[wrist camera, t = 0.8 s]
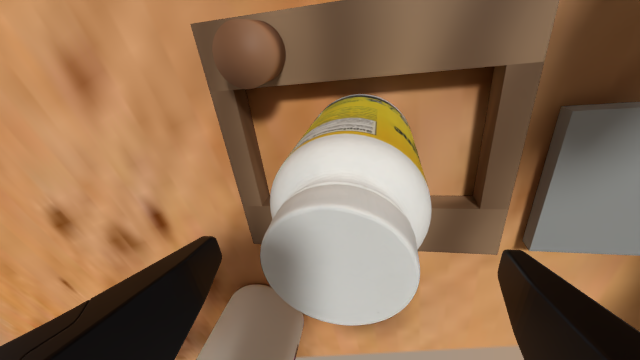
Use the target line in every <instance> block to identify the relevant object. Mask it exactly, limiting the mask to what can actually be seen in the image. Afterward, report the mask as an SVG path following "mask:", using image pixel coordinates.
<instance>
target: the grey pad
mask: <svg viewBox="0 0 640 360" xmlns="http://www.w3.org/2000/svg"><path fill="white" fill-rule="evenodd" d="M522 241H523V242H524V244H525V245H526V247H527V248H528V250H529V251H545V252H568V253H592V254H616V255H639V256H640V102H626V103H609V104H592V105H575V106H561V109H560V113H559V116H558V120H557V123H556V126H555V130H554V133H553V137H552V140H551V144H550V147H549V151H548V154H547V158H546V161H545V164H544V168H543V171H542V175H541V178H540V182H539V185H538V189H537V192H536V196H535V199H534V202H533V206H532V209H531V213H530V216H529V220H528V223H527V227H526V230H525V233H524V237H523V240H522Z"/></svg>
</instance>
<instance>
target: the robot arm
mask: <svg viewBox="0 0 640 360" xmlns="http://www.w3.org/2000/svg"><path fill="white" fill-rule="evenodd" d="M221 260H222V254H221V251H220V248H219V245H218V243H217V240H216V238H215V237H212V236H203V237H201V238H199V239H197V240H195V241H193V242H192V243H190V244H188V245H186V246H184V247H183V248H181V249H179V250H177V251H175V252H174V253H172V254H170V255H168V256H167V257H165V258H163V259H161V260H159V261H158V262H156V263H154V264H152V265H150V266H149V267H147V268H145V269H143V270H141V271H140V272H138V273H136V274H134V275H132V276H131V277H129V278H127V279H125V280H123V281H122V282H120V283H118V284H116V285H114V286H113V287H111V288H109V289H107V290H106V291H104V292H102V293H100V294H98V295H97V296H95V297H93V298H91V299H90V300H87V301H86V302H84V303H82V304H80V305H79V306H77V307H75V308H73V309H71V310H69V311H68V312H66V313H64V314H62V315H60V316H58V317H57V318H55V319H53V320H51V321H49V322H47V323H45V324H43V325H41V326H39V327H37V328H35V329H33V330H32V331H30V332H28V333H26V334H24V335H22V336H20V337H18V338H16V339H14V340H12V341H10V342H8V343H6V344H4V345H2V346H0V360H175V358H176V356H177V354H178V352H179V350H180V348H181V346H182V344H183V342H184V340H185V339H186V337H187V335H188V333H189V331H190V329H191V327H192V325H193V323H194V321H195V319H196V317H197V316H198V314H199V312H200V310H201V308H202V306H203V304H204V302H205V299H206V297H207V295H208V293H209V290H210V288H211V285H212V283H213V280H214V278H215V275H216V273H217V270H218V268H219V265H220V263H221ZM498 280H499V283H500V287H501V291H502V294H503V298H504V301H505V305H506V308H507V312H508V315H509V319H510V322H511V325H512V329H513V332H514V335H515V338H516V340H517V343H518V345H519V348H520V350H521V353H522V355H523V357H524V360H640V332H639V331H638V330H636V329H635V328H633V327H632V326H630V325H629V324H627V323H626V322H625V321H623V320H622V319H620V318H619V317H617V316H616V315H614V314H613V313H612V312H610V311H609V310H607V309H606V308H604V307H603V306H601V305H600V304H599V303H597V302H596V301H594V300H593V299H591V298H590V297H588V296H587V295H586V294H584V293H583V292H581V291H580V290H578V289H577V288H575V287H574V286H573V285H571V284H570V283H568V282H567V281H565V280H564V279H563V278H561V277H560V276H558V275H557V274H555V273H554V272H552V271H551V270H550V269H548V268H547V267H545V266H544V265H542V264H541V263H539V262H538V261H537V260H535V259H534V258H532V257H531V256H529V255H528V254H526V253H525V252H523V251H521V250H504V251H503V253H502V257H501V260H500V264H499V268H498Z"/></svg>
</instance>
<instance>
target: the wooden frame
mask: <svg viewBox="0 0 640 360" xmlns="http://www.w3.org/2000/svg"><path fill="white" fill-rule="evenodd" d="M558 4H559V0H341V1H335V2H329V3H322V4H316V5H309V6H303V7H296V8H290V9H284V10H277V11H271V12H264V13H258V14H252V15H245V16H239V17H232V18H226V19H220V20H213V21H207V22H200V23H194V24H191V28H192V31H193V35H194V38H195V42H196V45H197V48H198V52H199V55H200V59H201V62H202V66H203V69H204V73H205V76H206V80H207V83H208V87H209V90H210V94H211V97H212V100H213V104H214V107H215V111H216V114H217V118H218V121H219V125H220V128H221V132H222V135H223V139H224V142H225V146H226V149H227V152H228V156H229V159H230V163H231V166H232V170H233V173H234V177H235V180H236V184H237V187H238V191H239V194H240V197H241V201H242V204H243V208H244V211H245V215H246V218H247V222H248V225H249V229H250V232H251V236H252V239H253V243H254V244H262V240H263V238H264V235H265V233H266V231H267V229H268V227H269V225H270V223H271V221H272V215H271V209H270V195H269V190H268V186H267V182H266V177H265V173H264V169H263V164H262V160H261V156H260V151H259V147H258V143H257V138H256V134H255V130H254V125H253V121H252V117H251V112H250V108H249V104H248V99H247V95H246V91H245V89H253V88H260V87H271V86H282V85H293V84H304V83H315V82H326V81H337V80H348V79H359V78H370V77H381V76H392V75H403V74H414V73H425V72H436V71H447V70H458V69H469V68H480V67H491V66H494V72H493V78H492V84H491V90H490V96H489V102H488V108H487V114H486V120H485V126H484V132H483V138H482V144H481V150H480V156H479V162H478V168H477V174H476V180H475V186H474V192H473V196H430V199H431V210H432V212H431V221H430V225H429V229H428V232H427V234H426V237H425V239H424V241H423V242H422V244H421V246H420V247H419V248H418V250H417V251H427V252H449V253H470V254H492V255H497V254H498V250H499V246H500V242H501V238H502V234H503V230H504V225H505V221H506V217H507V213H508V209H509V205H510V201H511V197H512V193H513V188H514V184H515V180H516V176H517V172H518V168H519V164H520V160H521V156H522V151H523V147H524V143H525V139H526V135H527V131H528V127H529V123H530V119H531V114H532V110H533V106H534V102H535V98H536V94H537V90H538V86H539V82H540V78H541V73H542V69H543V65H544V61H545V57H546V53H547V49H548V45H549V41H550V36H551V32H552V28H553V24H554V20H555V16H556V12H557V8H558Z"/></svg>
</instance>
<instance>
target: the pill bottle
mask: <svg viewBox="0 0 640 360" xmlns="http://www.w3.org/2000/svg"><path fill="white" fill-rule="evenodd" d="M270 209H271V215H272V221H271V223H270V225H269V227H268V229H267V231H266V233H265V235H264V238H263V240H262V244H261V251H260V259H261V265H262V269H263V272H264V275H265V277H266V279H267V281H268V282H269V284H270V286H271V287H272V288H273V289H274V291H275V292H276V293H277V294H278V295H279V296H280V297H281V298H282V299H283V300H284V301H285V302H287V303H288V304H289V305H290V306H292V307H293V308H295V309H296V310H298V311H300V312H302V313H304V314H306V315H307V316H310V317H312V318H315V319H318V320H321V321H324V322H328V323H333V324H338V325H349V326H352V325H366V324H372V323H377V322H380V321H383V320H386V319H388V318H390V317H392V316H394V315H395V314H397V313H398V312H400V311H401V310H402V309H404V308H405V307H406V306H407V305H408V304H409V302H410V301H411V299H412V298H413V297H414V295H415V293H416V291H417V288H418V284H419V279H420V264H419V257H418V251H417V250H418V248H419V247H420V246H421V244H422V242H423V241H424V239H425V237H426V234H427V232H428V229H429V225H430V221H431V212H432V210H431V199H430V193H429V189H428V185H427V182H426V179H425V176H424V173H423V170H422V167H421V163H420V160H419V156H418V153H417V150H416V147H415V143H414V140H413V137H412V133H411V130H410V128H409V125H408V123H407V121H406V119H405V117H404V116H403V114H402V113H401V112H400V111H399V110H398V109H397V108H396V107H395V106H394V105H393V104H391V103H390V102H388V101H386V100H385V99H382V98H380V97H377V96H373V95H366V94H355V95H349V96H345V97H342V98H340V99H338V100H336V101H334V102H333V103H331V104H330V105H329V106H327V107H326V108H325V109H324V110H323V111H322V112H321V113H320V115H319V116H318V117H317V118H316V120H315V121H314V122H313V123H312V125H311V126H310V128H309V129H308V130H307V132H306V133H305V134H304V136H303V137H302V138H301V140H300V141H299V142H298V144H297V145H296V147H295V148H294V149H293V151H292V152H291V153H290V154H289V156H288V157H287V158H286V160H285V161H284V163H283V164H282V166H281V167H280V169H279V171H278V173H277V174H276V177H275V179H274V181H273V185H272V189H271V195H270Z"/></svg>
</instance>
